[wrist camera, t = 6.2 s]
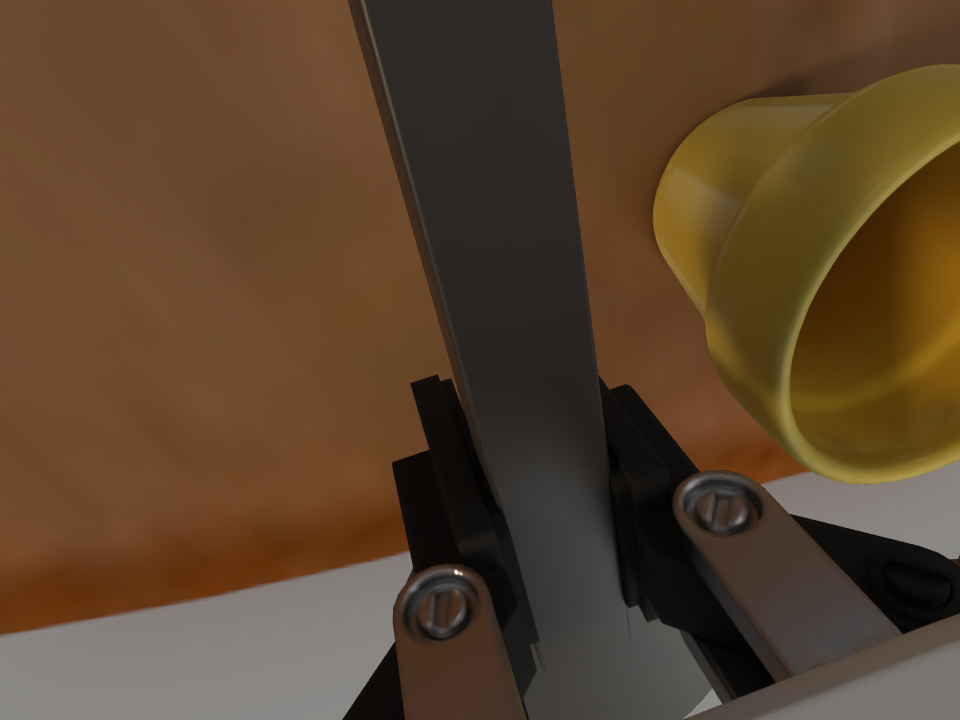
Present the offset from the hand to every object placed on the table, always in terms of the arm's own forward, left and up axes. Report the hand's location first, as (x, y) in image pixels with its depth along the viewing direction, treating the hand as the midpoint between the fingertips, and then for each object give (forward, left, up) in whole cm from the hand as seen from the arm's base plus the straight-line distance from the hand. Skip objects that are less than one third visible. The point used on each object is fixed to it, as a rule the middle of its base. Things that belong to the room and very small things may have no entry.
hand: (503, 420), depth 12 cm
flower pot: (-11, +2, -10) cm, 16 cm away
